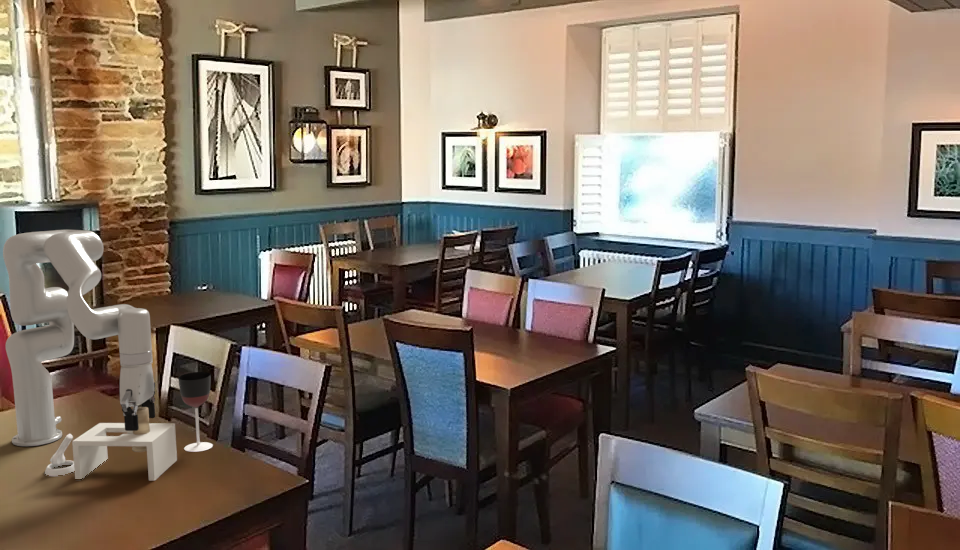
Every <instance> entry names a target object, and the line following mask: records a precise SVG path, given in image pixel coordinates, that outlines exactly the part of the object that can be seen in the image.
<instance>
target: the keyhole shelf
mask: <svg viewBox="0 0 960 550" xmlns="http://www.w3.org/2000/svg"><path fill="white" fill-rule="evenodd" d="M149 426H150V432H149V433H146V434H141V435H135V434H133V431H126V430H125V422H99V423H97V424H96V425H94V426H93V427H91V428H90V429H89V430H87V431H85V432H84V433H82V434H81V435H79V436H78V437H76V438H75V439H72V440H71V441H72V442H71V443H72V456H73V461H74V471H75V472H74V479H82V478H83V479H84V478H85V476H86V475H87V474H88V475H90V474H91V473H92V472H94V471H95V470H96V469H97V467H98V466H99V465H100V464H101V465H103V464H104V463H105V462H106V460H107V459H108V460H109V456H108V455H109V454H108V453H109V452H108V447H132V446H147V451H146V459H147V471H148V472H147V473H148V481H151V482H152V481H157V479H159V477H161V475H163V474H164V473H165V472H166V471H167V470H168V469H169V468H170V467H172V465H173V464H175V463H176V462H177V461H178V453H177V450H178V449H177V437H176V423H171V422H170V423H168V422H166V423H165V422H161V423H160V422H159V423H158V422H157V423H156V422H154V423H153V422H152V423H151V422H149ZM107 433H122V434H120V435H115V436H114V435H110V436H109V435H107ZM108 460H107V461H108ZM104 461H105V462H104ZM103 462H104V463H103ZM102 463H103V464H102ZM101 465H100V466H101ZM100 466H99V467H100ZM99 467H98V468H99ZM95 468H96V469H95ZM94 469H95V470H94ZM93 470H94V471H93ZM91 471H92V472H91ZM90 472H91V473H90ZM89 473H90V474H89ZM88 475H87V476H88ZM87 476H86V477H87ZM83 479H82V480H83Z"/></svg>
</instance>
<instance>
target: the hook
mask: <svg viewBox="0 0 960 550" xmlns="http://www.w3.org/2000/svg"><path fill="white" fill-rule="evenodd" d="M73 439H74V436H73V435H72V433H68V434H67V435H65V437H64V439H63V441H62V442H61V443H60V445H59V447H58V449H57V450H56V451H55V453H54V454H53V455H52V456H51V458H50V459H49V462H50V464H48V465H47V466H46V468H45V471H44V475H45V474H46V475H45V476H47V475H49V476H48V477H59V476H58V475H63V476H66V475H65V474H68V473H71V472H73V473H75V472H74V460H69V459H68V460H66V457H65V455H64V454H65V451H66V450H67V449H68V447H69V445H70V444H71V443H72V442H71V441H73ZM62 465H71V466H67V467H66V466H65V467H63V466H62ZM58 466H60V467H61V468H59V467H58ZM54 467H55V468H54ZM62 467H63V468H62ZM71 474H72V473H71ZM68 475H69V474H68Z"/></svg>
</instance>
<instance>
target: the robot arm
mask: <svg viewBox="0 0 960 550" xmlns="http://www.w3.org/2000/svg"><path fill="white" fill-rule="evenodd" d="M2 249H3V250H2V257H3V261H4V264H5V268H6V271H7V275H8V280H9V281H8V283H9V286H8V287H9V289H8V290H9V304H10V305H9V308H10V315H11V319H12V321H13V322H14V324H16V325H18V326H24V327H25V326H35V325H40V324H45V323H48V325H44V326H43V325H42V326H37V327H32V328H27V329H23V330H19V331H16V332H14V333H12V334H11V335H10V336H9V337H8V338H7V339H6V340H5V351H6V355H7V359H8V363H9V365H10V369H11V376H12V377H11V378H12V387H13V397H14V407H15V418H16V419H15V420H16V428H17V429H16V430H17V434H16V435H14V436H12V438H11V444H13V445H15V446H17V447H36V446H41V445H47V444H50V443H53V442H56V441H58V440H60V439H61V438H62V437H63V431H62V430H60V429H58V428H57V425H58V424H60V423H61V422H62V417H61V416H60V415H57V416H55V405H54V404H55V403H54V394H53V393H54V391H53V382H52V381H53V380H52V376H51V374H50V372H49V370H48V369H46V367H45V366H44V365H43V364H42V362H45V361H48V360H53V359H54V360H55V359H57V358H62V357H66V356H67V355H70V354H71V352H72V351H73V349H74V346H75V327H76V328H77V330H78V331H79V333H80V334H82V336H83V337H85V338H87V339H89V340H99V339H100V340H101V339H104V338H109V337H113V336H117V337H118V349H119V363H120V374H119V403H120V406H121V411H122V415H123V418H124V423H125V430H126V431H137V430H138V429H139V426H138V415H136V412H137V408H138V407H140V405H141V407H148V410H149V419H154V418H156V407H155V405H156V404H155V401H156V398H155V394H156V391H155V389H156V382H155V379H154V372H153V365H152V364H153V362H154V361H153V360H154V359H153V344H152V330H151V329H152V327H151V315H150V312H149V310H147V308H140V307H138V308H137V307H134V306H133V305H130V304H128V303H127V304H125V303H124V304H122V303H121V304H114V305H109V306H103V307H97V308H93V309H92V308H91V307H90V306H89V304H88V303H87V302H86V300H85V299H84V297H83V296H84V295H86V294H87V293H89V292H90V291H91V290H93V289H94V288H96V287H97V285H98V284H99V283H100V281H101V280H102V272H101V270H100V268H99V267H98V266H97V264H96V263H95V262H94V261H98V260H99V259H101V258H102V257H103V254H104V244H103V241H102V239H101V238H100V236H99V235H98V234H96V232H94V231H92V230H82V229H81V230H80V229H55V230H44V231H31V232H24V233H18V234H14V235H12V236H9V238H8V239H6V241H5V243H4V244H3V248H2ZM44 263H51V265H52V266H53V267H54V269H55V270H56V271H57V274H59V276H60V277H61V279H62V280H63V281H64V283H65V284H66V285H67V286H68V290H66V289H64V288H62V287H60V286H51V287H45V275H44V272H43V270H42V269H41V268H40V266H39V265H38V264H44ZM132 409H133V410H132Z"/></svg>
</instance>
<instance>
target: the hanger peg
mask: <svg viewBox="0 0 960 550" xmlns="http://www.w3.org/2000/svg"><path fill="white" fill-rule="evenodd" d="M131 409H132V410H133V408H131ZM136 415H138V426H139V429H138V430H137V431H133V434H135V435H141V434H146V433H149V432H150V426H149V423H150V418H149V410H148V407H142V406H138V408H137V412H136ZM131 448H132V449H131V451H133V452H135V453H144V452H147V446H131Z"/></svg>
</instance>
